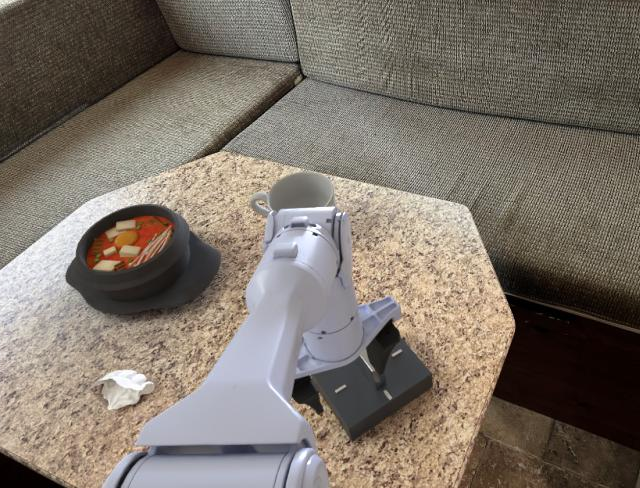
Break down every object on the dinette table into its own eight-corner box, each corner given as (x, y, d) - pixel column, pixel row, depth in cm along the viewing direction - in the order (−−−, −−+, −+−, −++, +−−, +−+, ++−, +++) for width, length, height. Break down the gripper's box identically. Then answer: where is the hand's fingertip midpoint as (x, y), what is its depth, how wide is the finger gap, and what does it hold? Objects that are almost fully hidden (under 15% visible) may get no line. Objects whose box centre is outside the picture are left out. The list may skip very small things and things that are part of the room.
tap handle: (386, 383, 74) (383, 363, 71) (375, 390, 73) (371, 370, 71) (363, 352, 78) (359, 332, 75) (352, 358, 77) (348, 338, 74)
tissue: (115, 365, 83) (104, 349, 80) (159, 385, 80) (149, 368, 77) (84, 399, 79) (71, 383, 77) (129, 422, 76) (117, 405, 74)
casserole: (245, 245, 98) (232, 207, 93) (181, 338, 85) (162, 300, 80) (119, 222, 106) (100, 185, 100) (42, 304, 92) (15, 267, 87)
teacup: (350, 211, 103) (343, 174, 98) (327, 257, 95) (318, 220, 90) (275, 201, 106) (265, 165, 101) (247, 244, 99) (235, 208, 93)
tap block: (352, 441, 72) (348, 428, 70) (312, 381, 78) (308, 368, 76) (433, 386, 76) (432, 372, 74) (389, 334, 83) (387, 320, 81)
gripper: (369, 248, 62) (383, 327, 71) (239, 320, 57) (271, 396, 65) (409, 291, 58) (418, 370, 66) (271, 373, 52) (301, 448, 61)
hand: (347, 386), depth 66 cm, fingers open, 7 cm apart
